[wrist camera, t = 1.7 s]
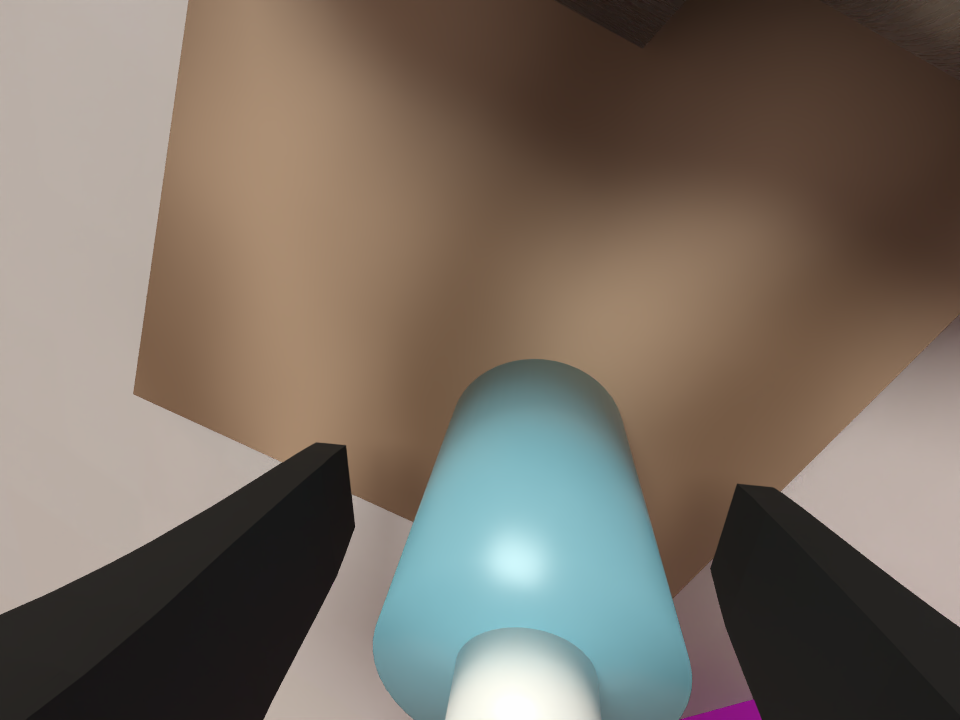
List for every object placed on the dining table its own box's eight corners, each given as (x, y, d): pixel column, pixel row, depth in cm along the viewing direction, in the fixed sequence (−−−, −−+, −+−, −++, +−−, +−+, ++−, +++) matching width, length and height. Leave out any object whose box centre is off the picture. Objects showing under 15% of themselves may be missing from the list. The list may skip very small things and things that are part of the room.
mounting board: (1566, -397, 6) (1808, -527, 5) (635, 590, 14) (643, 626, 13) (446, -1207, 5) (416, -1616, 4) (167, 373, 13) (132, 394, 12)
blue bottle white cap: (659, 408, 10) (812, 759, 4) (567, 528, 12) (588, 898, 6) (495, 328, 10) (421, 583, 4) (426, 461, 12) (300, 779, 6)
